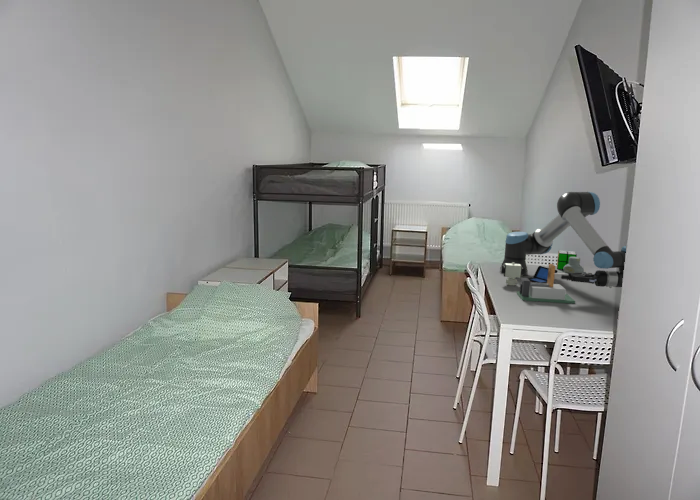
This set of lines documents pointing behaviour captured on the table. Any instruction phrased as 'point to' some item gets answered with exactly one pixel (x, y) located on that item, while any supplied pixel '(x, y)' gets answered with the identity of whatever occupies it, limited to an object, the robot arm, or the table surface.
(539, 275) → the handheld game console
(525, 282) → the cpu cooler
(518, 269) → the pneumatic valve
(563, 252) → the puzzle cube
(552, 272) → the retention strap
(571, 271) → the air freshener
